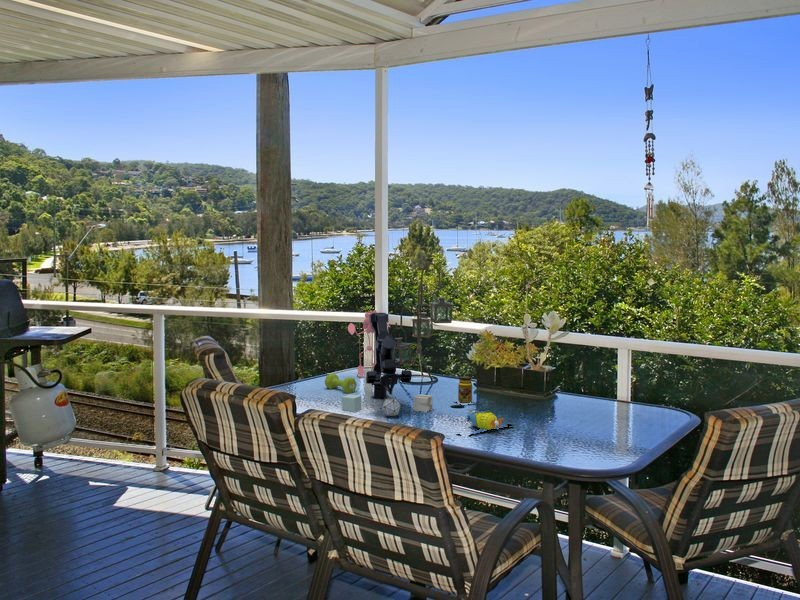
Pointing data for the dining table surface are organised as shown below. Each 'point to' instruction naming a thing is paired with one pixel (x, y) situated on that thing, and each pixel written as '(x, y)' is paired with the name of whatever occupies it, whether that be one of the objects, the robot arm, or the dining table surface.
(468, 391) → the condiment
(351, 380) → the dumbbell
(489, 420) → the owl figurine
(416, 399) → the birch block
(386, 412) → the game die
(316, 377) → the dining table surface
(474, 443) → the dining table surface
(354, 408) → the sage block
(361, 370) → the pink tall part
